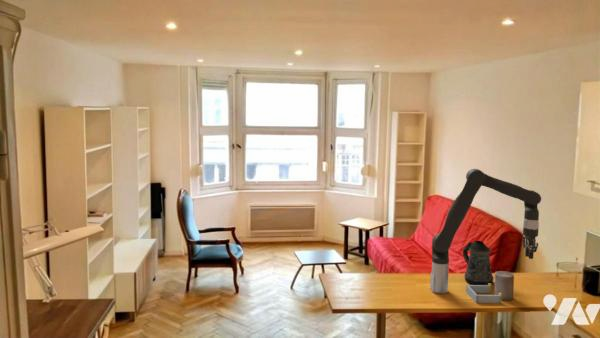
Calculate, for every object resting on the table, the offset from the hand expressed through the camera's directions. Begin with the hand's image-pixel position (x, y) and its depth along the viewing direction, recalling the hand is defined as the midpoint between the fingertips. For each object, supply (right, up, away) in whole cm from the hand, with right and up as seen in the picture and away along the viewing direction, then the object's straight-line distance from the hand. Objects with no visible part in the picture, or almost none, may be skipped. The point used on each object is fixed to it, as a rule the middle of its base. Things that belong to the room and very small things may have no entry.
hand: (529, 257), depth 245 cm
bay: (-24, -23, +3) cm, 33 cm away
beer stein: (-18, -20, +28) cm, 39 cm away
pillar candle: (-13, -23, +3) cm, 27 cm away
